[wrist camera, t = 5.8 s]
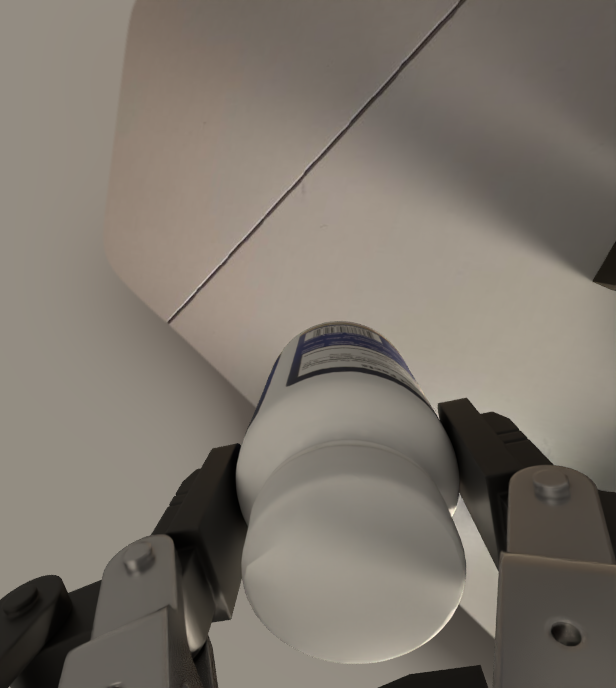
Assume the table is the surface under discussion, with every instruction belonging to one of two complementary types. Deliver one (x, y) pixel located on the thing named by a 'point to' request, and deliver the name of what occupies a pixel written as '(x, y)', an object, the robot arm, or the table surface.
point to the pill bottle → (349, 501)
